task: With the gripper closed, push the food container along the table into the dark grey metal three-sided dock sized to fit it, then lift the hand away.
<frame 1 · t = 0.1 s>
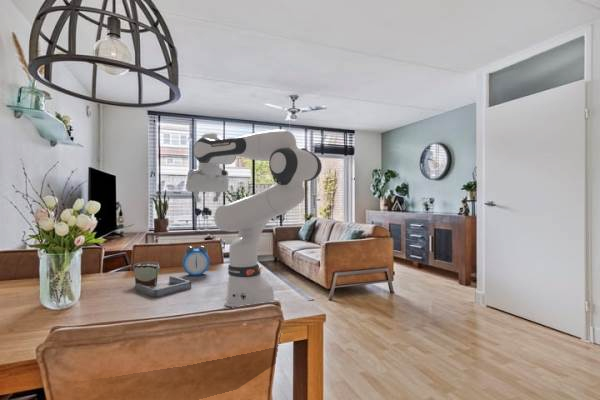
hand: (207, 201, 141), 39 cm above the table, tool pointing down, fingers open, 8 cm apart
food container: (149, 284, 148), on the table
alarm clock: (196, 275, 166), on the table
metal dock: (163, 289, 141), on the table
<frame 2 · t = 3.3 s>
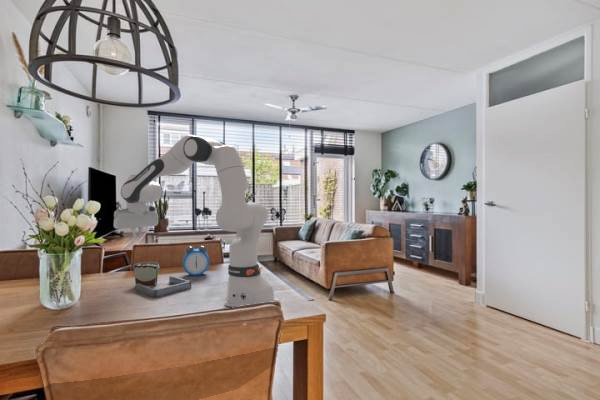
hand: (136, 236, 154), 21 cm above the table, tool pointing down, fingers closed
nothing on the table moved.
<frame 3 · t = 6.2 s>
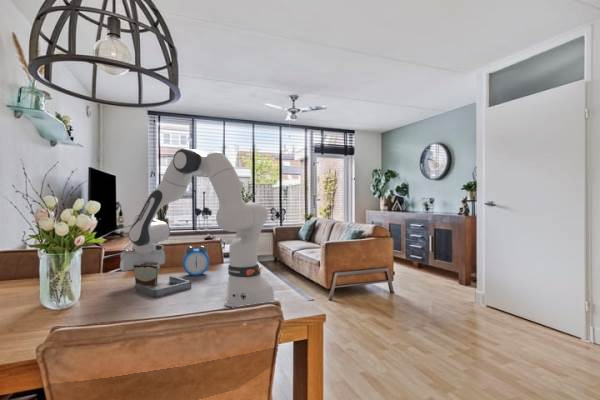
hand: (143, 276, 151), 3 cm above the table, tool pointing down, fingers closed
food container: (149, 284, 148), on the table, touching gripper
everything else where it was.
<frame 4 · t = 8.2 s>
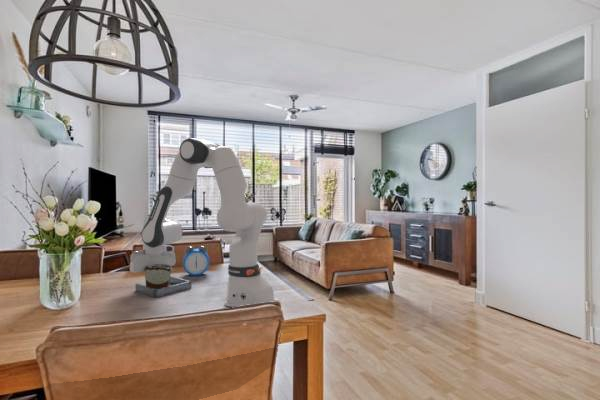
hand: (153, 278, 145), 3 cm above the table, tool pointing down, fingers closed
food container: (159, 287, 143), on the table, touching gripper
everything else where it was.
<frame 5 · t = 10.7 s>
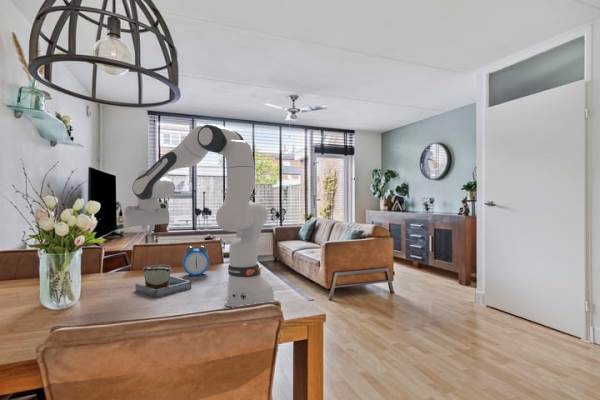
hand: (148, 234, 149), 23 cm above the table, tool pointing down, fingers closed
food container: (159, 288, 143), on the table
everything else where it was.
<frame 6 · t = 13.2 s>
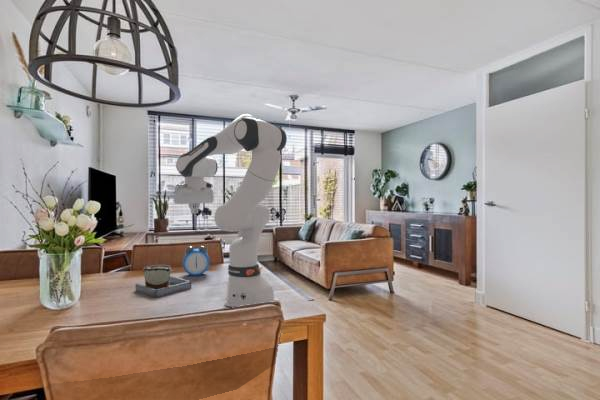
hand: (194, 213, 153), 33 cm above the table, tool pointing down, fingers closed
nothing on the table moved.
at the end: food container inside the target area on the metal dock (3.5 cm from its centre), point 0.0 cm above the metal dock's base; food container tilted 0° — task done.
